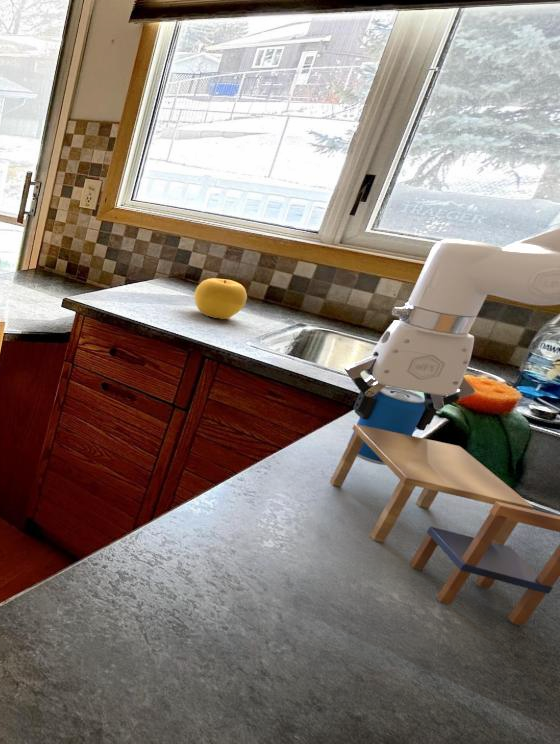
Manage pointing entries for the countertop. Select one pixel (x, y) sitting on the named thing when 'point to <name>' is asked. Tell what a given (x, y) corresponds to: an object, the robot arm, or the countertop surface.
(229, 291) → the apple
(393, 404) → the beverage can
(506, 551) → the chair
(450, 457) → the dining table
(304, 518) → the countertop surface
